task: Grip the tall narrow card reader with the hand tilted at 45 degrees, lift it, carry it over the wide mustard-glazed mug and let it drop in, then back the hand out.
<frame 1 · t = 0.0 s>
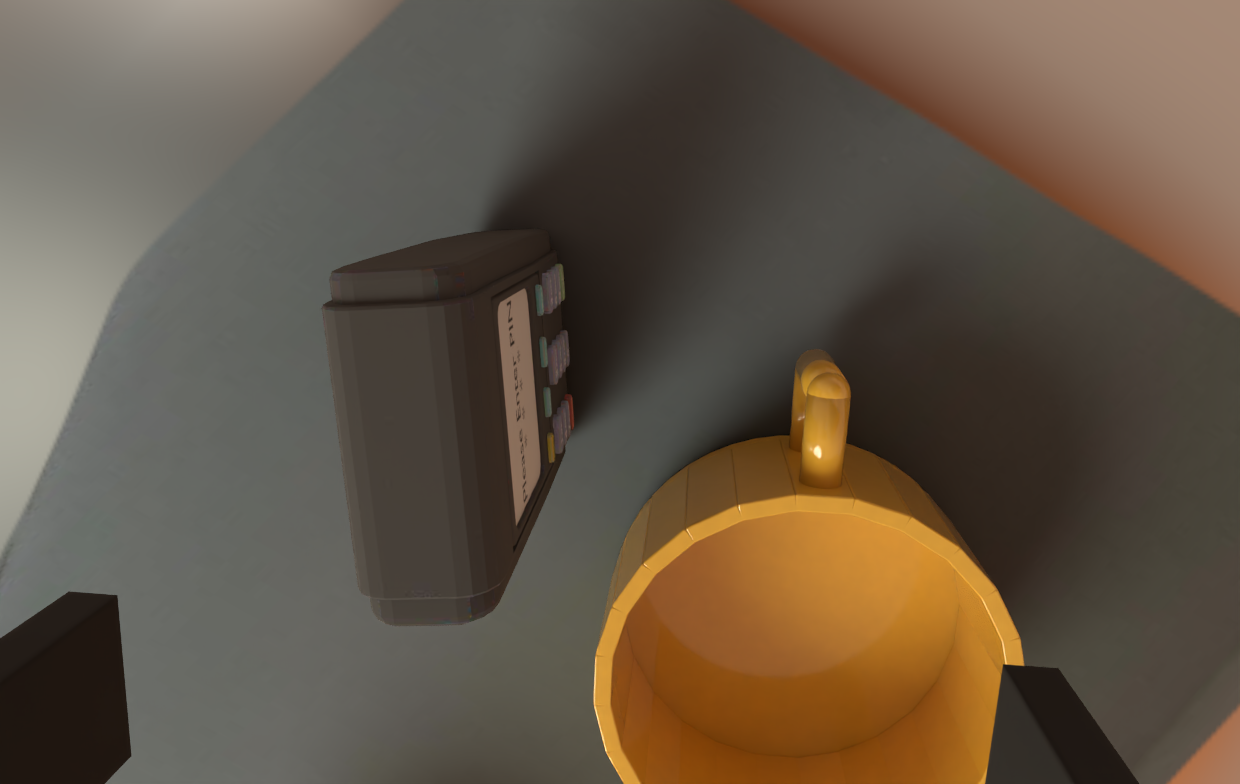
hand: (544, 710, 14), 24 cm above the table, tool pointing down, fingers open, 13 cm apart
mug: (787, 604, 39), on the table
card reader: (523, 344, 38), on the table
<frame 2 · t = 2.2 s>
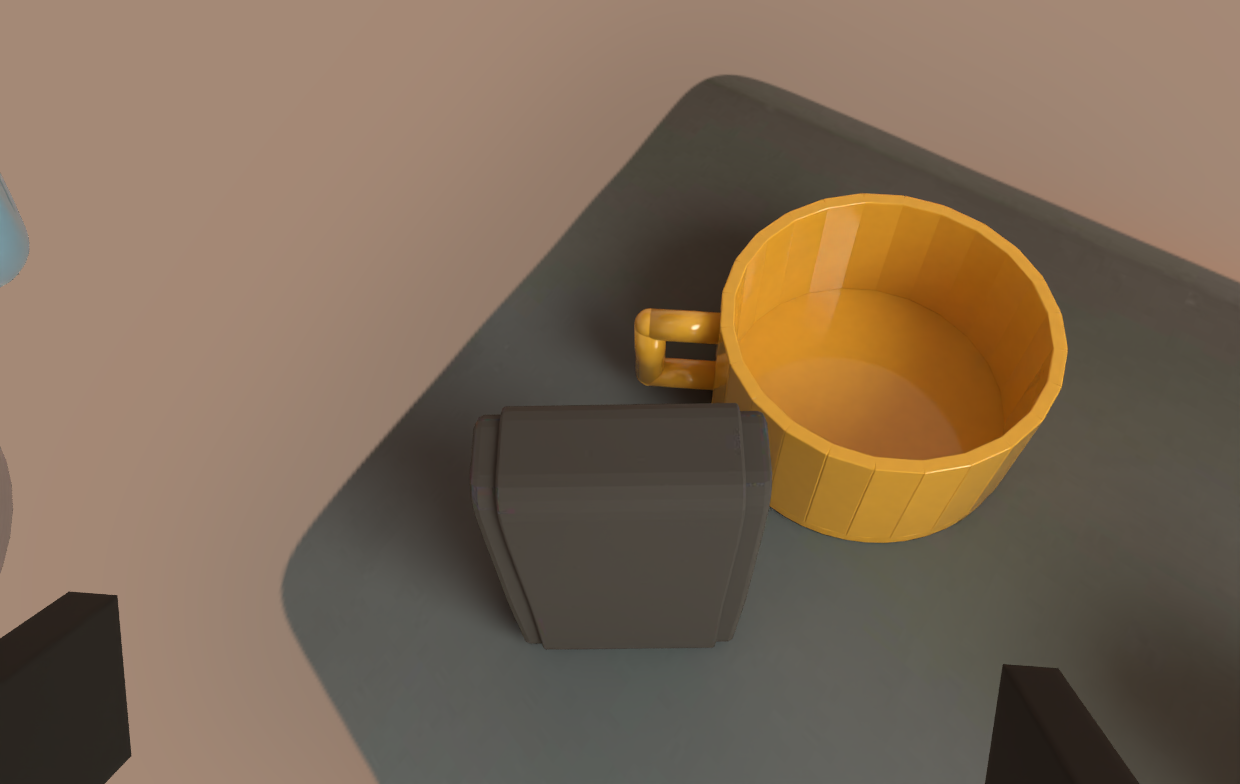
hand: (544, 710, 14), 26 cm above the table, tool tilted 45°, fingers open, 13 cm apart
mug: (859, 405, 46), on the table
card reader: (631, 610, 42), on the table
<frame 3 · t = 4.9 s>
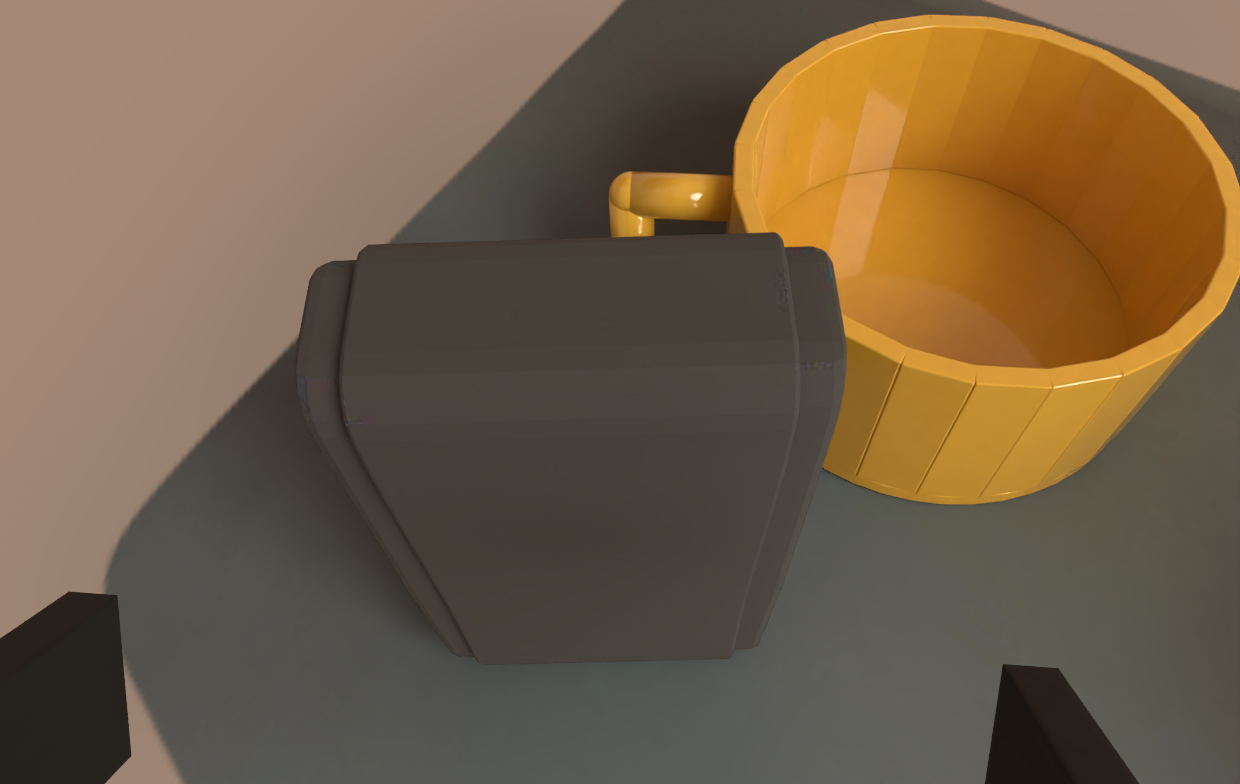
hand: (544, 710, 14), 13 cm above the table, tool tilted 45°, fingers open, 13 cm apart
mug: (923, 319, 34), on the table
card reader: (609, 605, 29), on the table
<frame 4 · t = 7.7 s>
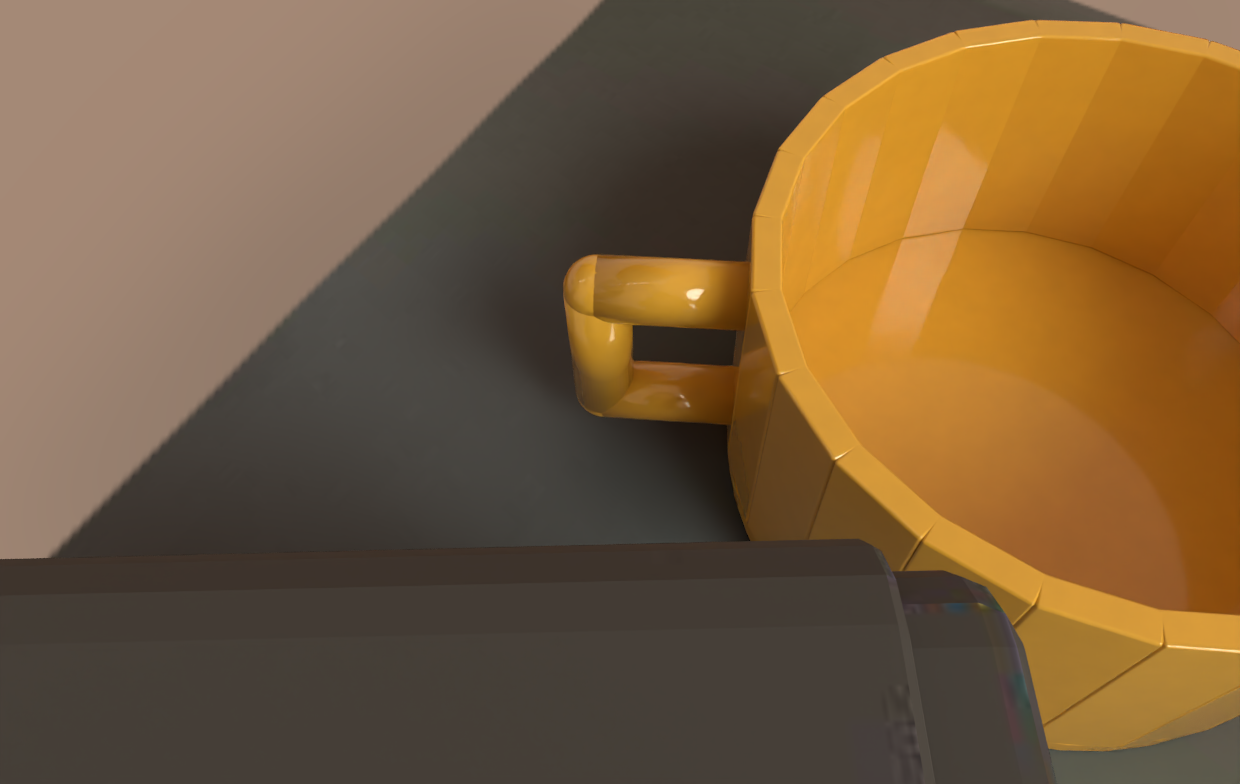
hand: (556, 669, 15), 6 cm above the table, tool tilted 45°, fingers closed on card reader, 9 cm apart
mug: (1016, 449, 24), on the table
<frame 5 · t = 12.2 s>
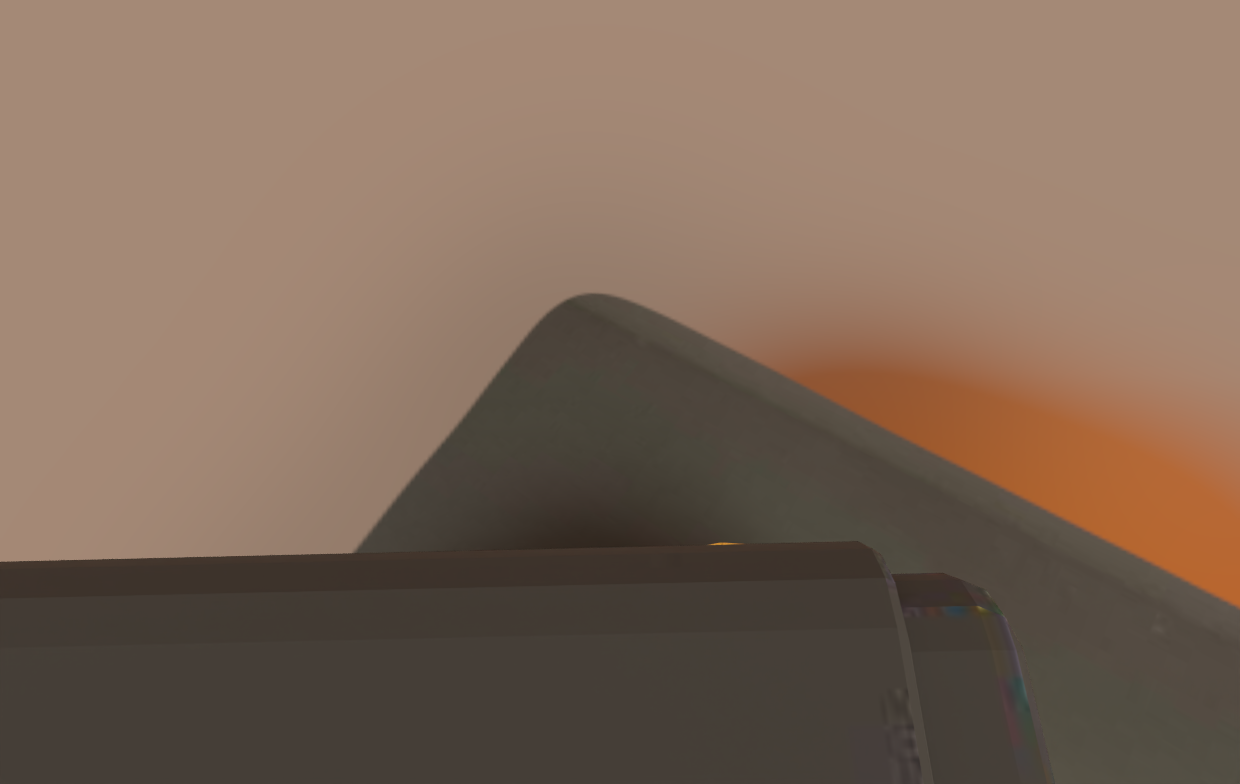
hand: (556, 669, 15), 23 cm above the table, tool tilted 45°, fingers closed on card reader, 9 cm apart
when the fingers open (11 cm above the table, at t = 17.1 s): card reader drops 4 cm, resting on mug.
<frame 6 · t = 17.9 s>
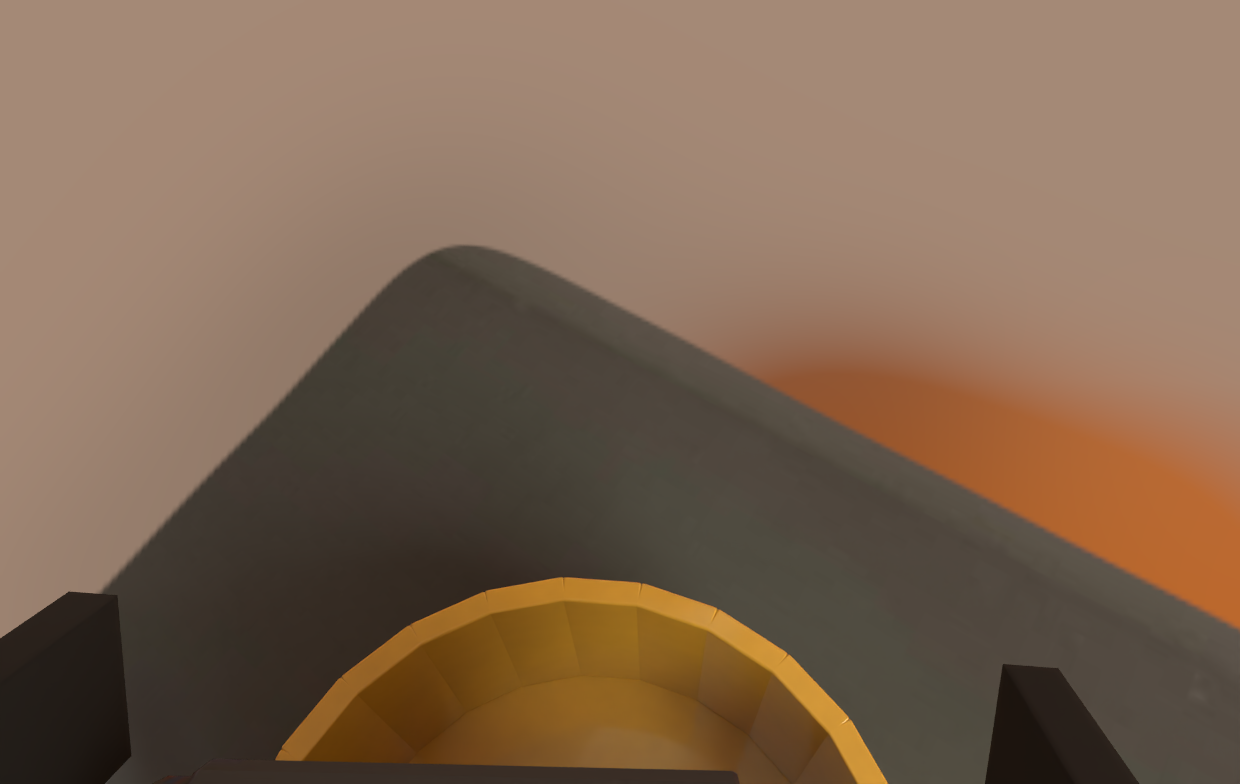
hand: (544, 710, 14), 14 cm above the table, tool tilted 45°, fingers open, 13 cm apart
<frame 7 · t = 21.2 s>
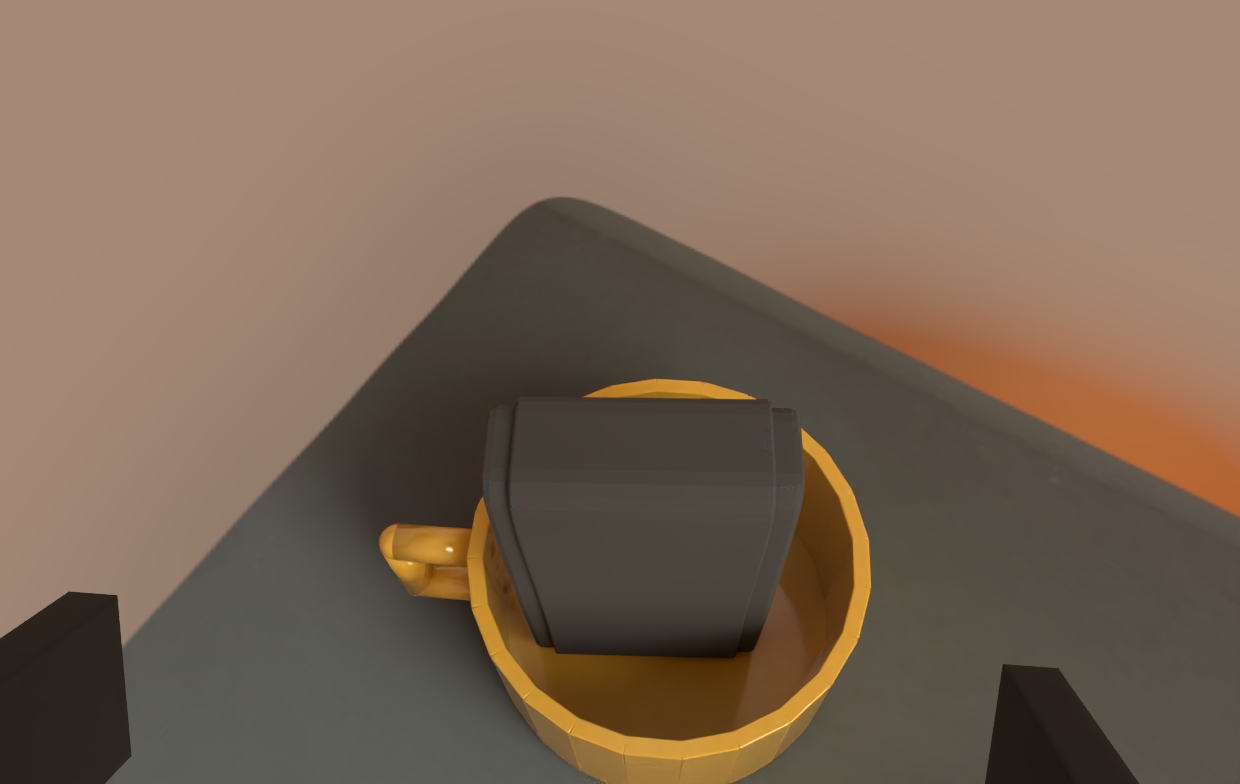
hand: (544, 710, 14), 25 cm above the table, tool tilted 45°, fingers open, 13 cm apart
mug: (665, 612, 40), on the table
card reader: (648, 615, 40), resting on mug
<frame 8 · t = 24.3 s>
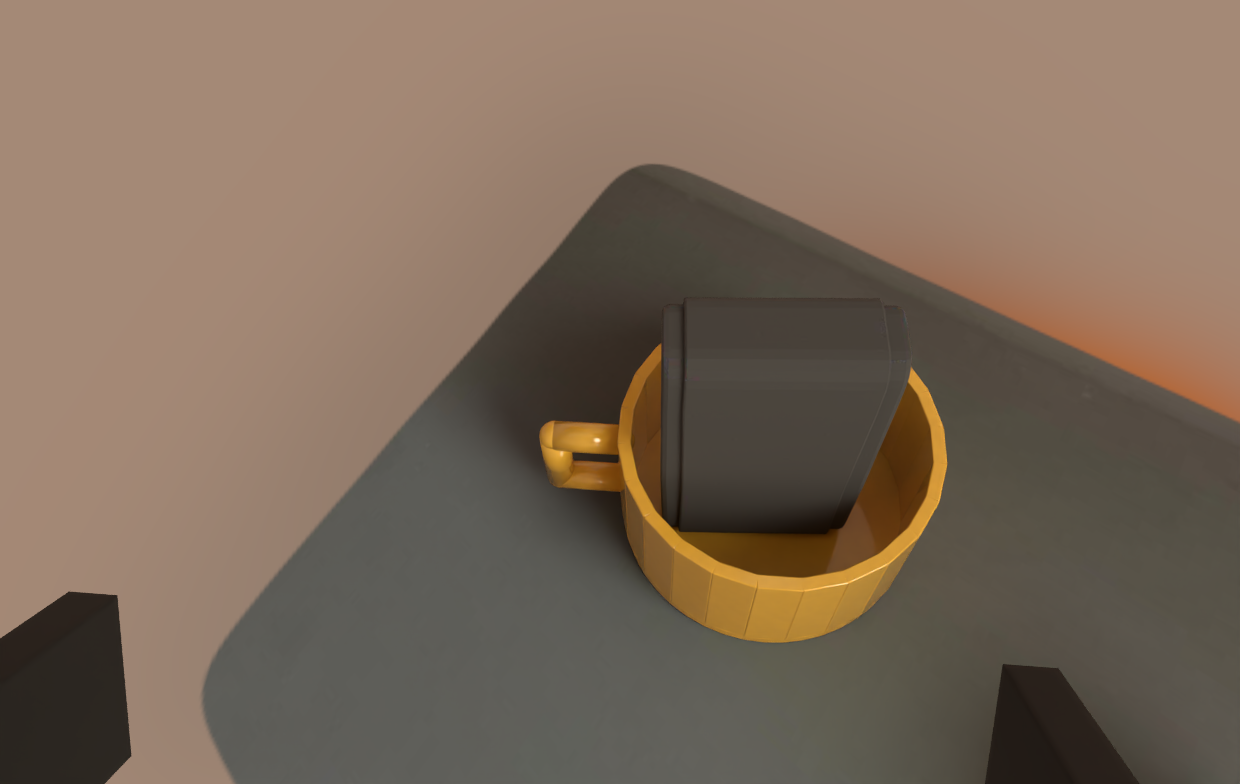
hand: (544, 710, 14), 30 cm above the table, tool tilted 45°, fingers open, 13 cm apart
mug: (764, 502, 48), on the table
card reader: (751, 504, 48), resting on mug
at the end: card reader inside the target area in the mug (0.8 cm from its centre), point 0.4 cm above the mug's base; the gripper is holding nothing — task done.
